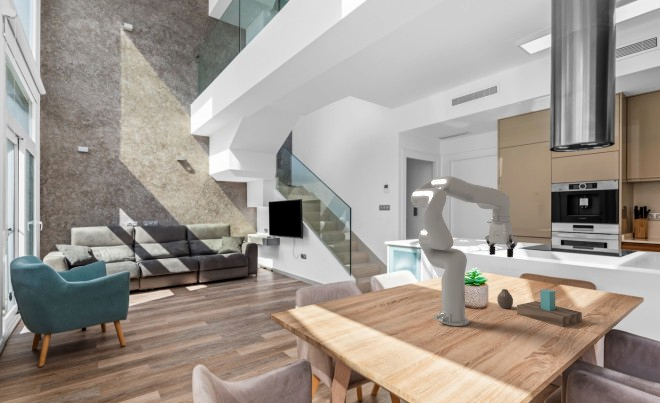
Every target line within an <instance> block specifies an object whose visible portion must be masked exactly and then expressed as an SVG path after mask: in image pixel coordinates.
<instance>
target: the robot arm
mask: <svg viewBox="0 0 660 403" xmlns="http://www.w3.org/2000/svg"><path fill="white" fill-rule="evenodd" d="M447 196H448V197H450V198H453V199H456V200H460V201H462V202H465V203H471V204H472V203H473V204H476V205H477V206H478V207H479V208H480V209H483V210H491V211H492V212H491V213H492V217H491V218H490V220H491V221H492V222H490V224H489V232H488V235H487V236H484V238H485V239H484V240H485V242H486V243H487V246H488V247H489V255H490V256H493V255H496V244H497V245H506V247H507V249H506V258H513V257H514V249H515V248H516V247H517V245H518V243H519V239H518V238H517V237H515V236H513V235H514V234H513V226H512V223H511V196H510V194H507V193H505V192H504V191H502V190H499V189H496V188H494V187H489V186H483V185H478V184H473V183H470V182H468V181H465V180H463V179H460V178H457V177H455V176H451V175H450V176H448V175H446V176H440V177H439V176H438V177H435V178H432V179H430V180H429V181H427V182H426V183H424V184H422V185H420V186H419V187H417V188H416V189H414V191H413V192H412V193H411V196H410V201H411V204H412V206H414V207H415V208H418V209H424V212H423V216H422V225H423V227H424V228H422V229H421V230H420V231H419V234H418V237H417V238H418V243H419V247H420V248H421V250H422V251H423V252H422V253H423V254H424V256H425V257H426V259H427V261H428V262H429V263H430V265H432V266H433V267H434V268H438V269H443V270H444V272H443V274H442V276H441V281H440V282H441V310H440V311H439V313H438V314H437V313H436V314H434V315H433V319H434V320H438V321H439V322H440V323H441V324H444V325H447V326H452V327H453V326H454V327H463V326H464V327H465V326H468V324H470V320H469V318H468V317H466V295H465V294H466V291H465V290H466V289H465V288H466V286H465V284H466V283H465V281H466V280H465V279H466V278H465V277H466V276H465V275H466V269H467V263H468V258H467V255H466V253H465V252H463V251H462V250H460V249H458V248H453V245H454V239H453V236H452V233H451V232H450V229H449V228H448V225H447V223H446V222H445V220H444V216H443V211H444V208H445V204H446V202H447Z"/></svg>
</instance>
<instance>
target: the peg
mask: <svg viewBox="0 0 660 403" xmlns="http://www.w3.org/2000/svg"><path fill="white" fill-rule="evenodd" d="M540 302H541V309H544V310H548V311H554V310H555V306H556V291H555V290H552V289H547V288H546V289H540Z"/></svg>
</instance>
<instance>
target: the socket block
mask: <svg viewBox="0 0 660 403" xmlns="http://www.w3.org/2000/svg"><path fill="white" fill-rule="evenodd" d="M516 314H517V315H521V316H524V317H527V318H531V319H534V320H538V321H540V322H544V323H546V324H547V323H548V324H551V325H554V326H557V327H561V328H564V327H565V328H566V327H568V326H571V325H575V324H579V323H582V322H583V319H582V318H583V316H582V315H583V313H582V312H581V311H578V310H575V309H570V308H566V307H565V308H564V307H561V306H557V305H555V310H554V311H548V310H544V309H541V301H537V300H536V301H530V302H525V303H520V304H517V305H516Z"/></svg>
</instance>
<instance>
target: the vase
mask: <svg viewBox="0 0 660 403" xmlns="http://www.w3.org/2000/svg"><path fill="white" fill-rule="evenodd" d="M496 299H497V300H496V301H497V304H498V305H499V307H500V308H502V309H505V310H506V309H511V308H512V307H513V305H514V299H513V296H512V294H511V293H510V291H509V290H508V289H507V288H506V289H505V288H502V289H501V291H500V292H499V293H498V295H497V298H496Z"/></svg>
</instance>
